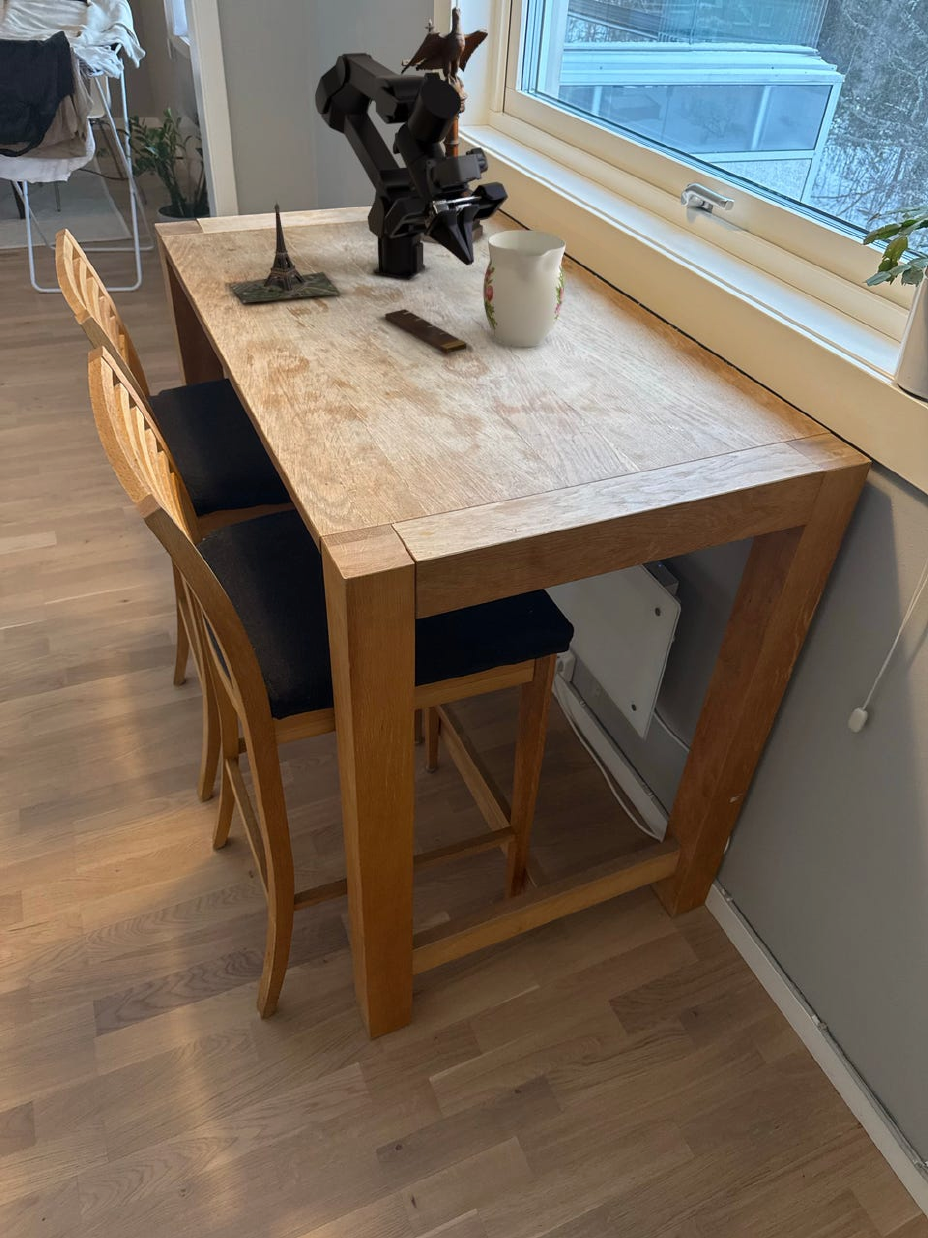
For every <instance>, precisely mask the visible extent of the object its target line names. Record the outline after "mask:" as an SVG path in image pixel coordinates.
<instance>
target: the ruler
mask: <svg viewBox="0 0 928 1238" xmlns="http://www.w3.org/2000/svg"><path fill="white" fill-rule="evenodd" d="M384 318H385V320H386V321H388V322H389V323H391V324H393V325H395V326H397V327H398V328H400V329H401V330H403V331H405V332H407V333H408V334H411V336H414V337H415V338H417V339H419V340H421V341H422V342H424V343H426V344H428V345H430V346H431V347H433V348H435V349H436V350H438V351H439V352H442V353H443V354H446V355H448V354H452V353H455V352H459V351H462V350H465V349H467V342H466V341H464V340H463V339H460V338H458V337H456V336H454V335H452V334H451V333H449V332H447V331H445V330H444V329H442V328H440V327H438V326H436V325H434V324H433V323H431V322H429V321H427V320H426V319H423V318H422V317H420V316H418V315H416V314H414V313H413V312H410V311H409V310H407V309H405V308H403V309H400V310H396V311H392V312H388V313H385V314H384Z"/></svg>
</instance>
